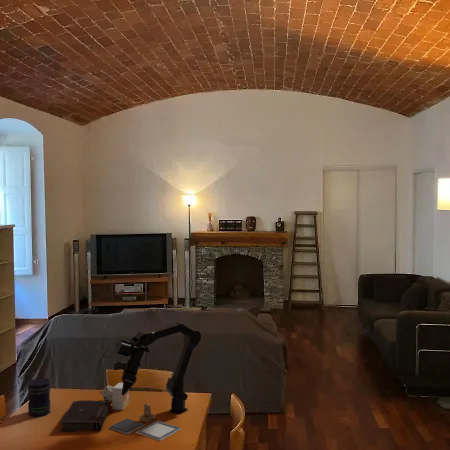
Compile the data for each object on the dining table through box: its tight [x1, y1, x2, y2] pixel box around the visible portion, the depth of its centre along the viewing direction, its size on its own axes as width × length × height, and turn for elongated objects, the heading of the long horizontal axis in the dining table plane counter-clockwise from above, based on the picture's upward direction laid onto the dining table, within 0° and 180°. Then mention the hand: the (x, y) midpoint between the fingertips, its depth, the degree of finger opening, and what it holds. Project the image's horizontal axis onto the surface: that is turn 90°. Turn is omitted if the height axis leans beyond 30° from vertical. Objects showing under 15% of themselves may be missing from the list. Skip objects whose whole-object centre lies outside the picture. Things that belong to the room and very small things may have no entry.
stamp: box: [139, 403, 156, 424], centre depth 239 cm, size 5×5×7 cm
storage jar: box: [27, 377, 52, 418], centre depth 247 cm, size 10×10×15 cm
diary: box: [59, 399, 112, 433], centre depth 239 cm, size 19×25×5 cm
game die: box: [99, 384, 117, 402], centre depth 262 cm, size 9×8×10 cm
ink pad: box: [108, 418, 146, 435], centre depth 231 cm, size 11×11×1 cm
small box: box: [111, 382, 130, 411], centre depth 254 cm, size 8×6×10 cm
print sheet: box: [134, 420, 182, 441], centre depth 228 cm, size 14×14×1 cm
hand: (122, 392), depth 235 cm, fingers open, 9 cm apart
